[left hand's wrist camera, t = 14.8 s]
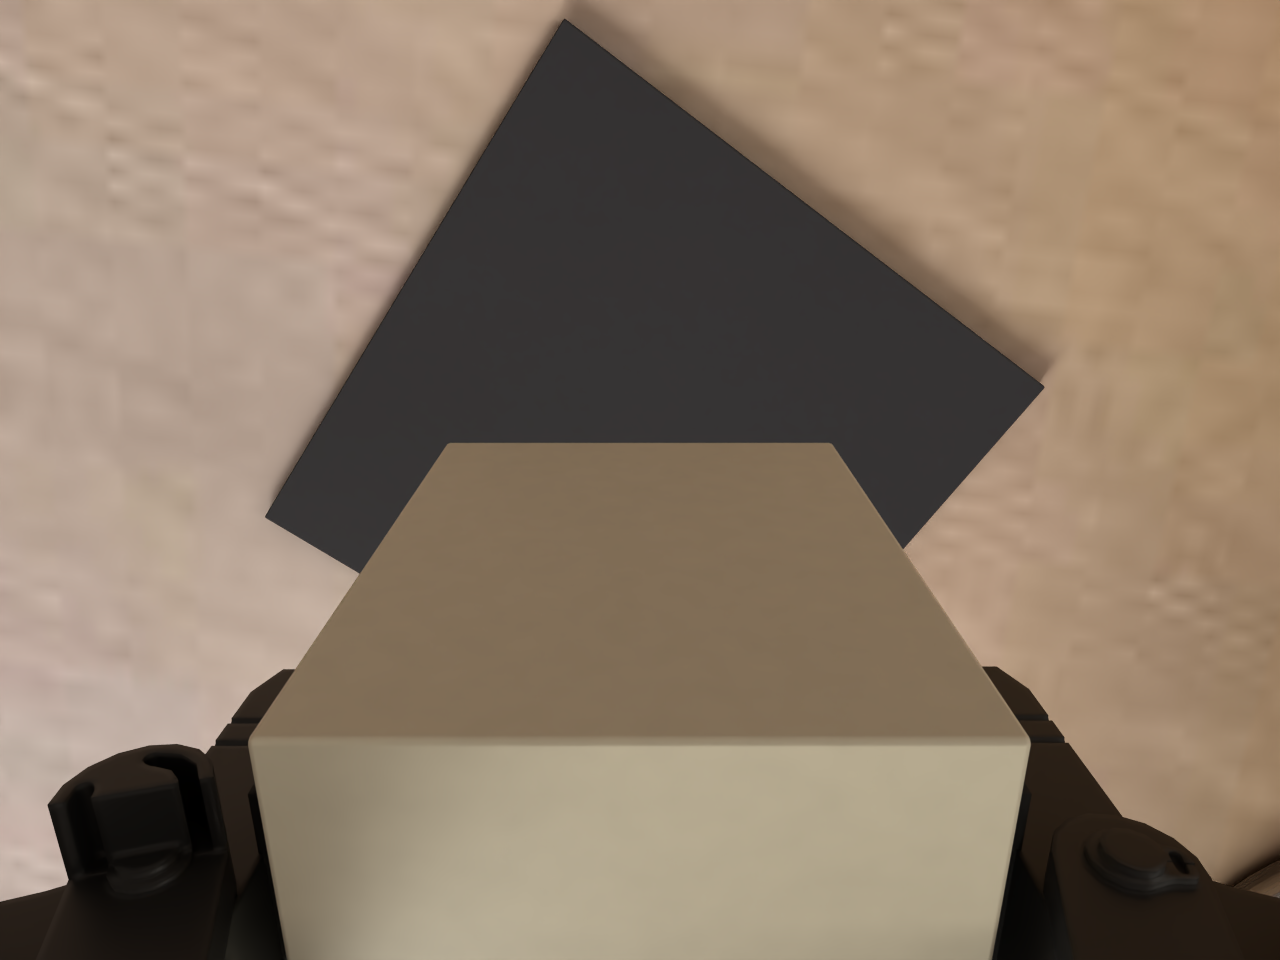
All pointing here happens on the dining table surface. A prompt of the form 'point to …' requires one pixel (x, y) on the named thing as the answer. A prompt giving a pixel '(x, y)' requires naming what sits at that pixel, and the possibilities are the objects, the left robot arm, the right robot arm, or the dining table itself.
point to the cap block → (639, 724)
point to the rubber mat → (645, 321)
